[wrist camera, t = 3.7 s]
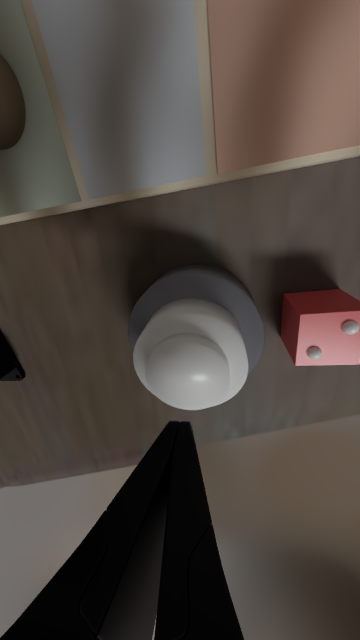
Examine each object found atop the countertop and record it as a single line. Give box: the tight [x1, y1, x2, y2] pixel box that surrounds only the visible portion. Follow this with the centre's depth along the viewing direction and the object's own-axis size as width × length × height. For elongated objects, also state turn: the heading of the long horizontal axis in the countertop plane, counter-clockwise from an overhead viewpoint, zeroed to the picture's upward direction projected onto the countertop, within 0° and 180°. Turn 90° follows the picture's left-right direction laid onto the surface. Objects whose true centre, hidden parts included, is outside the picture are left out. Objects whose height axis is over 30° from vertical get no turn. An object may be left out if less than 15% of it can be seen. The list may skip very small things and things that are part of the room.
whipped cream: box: [133, 298, 248, 410], centre depth 12 cm, size 6×6×3 cm
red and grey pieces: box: [128, 264, 360, 375], centre depth 15 cm, size 14×9×4 cm, turn 98°
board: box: [0, 0, 360, 225], centre depth 11 cm, size 24×12×1 cm, turn 98°
